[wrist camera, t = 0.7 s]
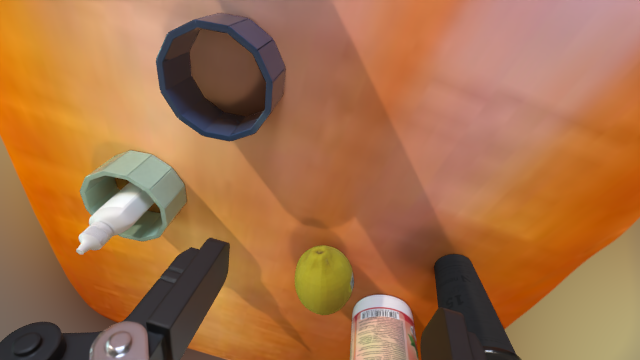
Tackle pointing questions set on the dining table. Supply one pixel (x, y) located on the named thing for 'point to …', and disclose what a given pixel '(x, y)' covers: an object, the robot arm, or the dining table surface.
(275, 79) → the slate cup
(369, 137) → the dining table surface
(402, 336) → the fruit juice
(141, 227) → the celadon cup
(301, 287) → the lemon
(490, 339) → the black flashlight
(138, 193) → the eye dropper bottle
